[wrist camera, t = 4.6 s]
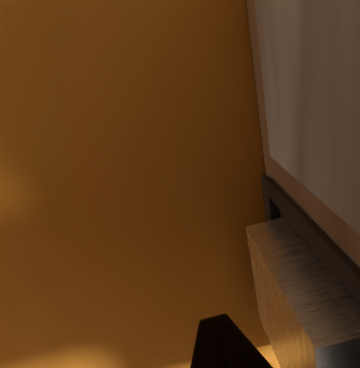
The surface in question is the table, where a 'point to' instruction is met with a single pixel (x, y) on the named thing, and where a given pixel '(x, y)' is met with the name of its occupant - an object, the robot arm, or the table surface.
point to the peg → (301, 300)
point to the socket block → (311, 123)
